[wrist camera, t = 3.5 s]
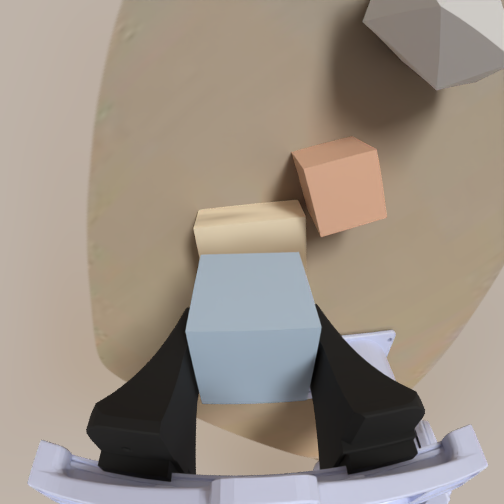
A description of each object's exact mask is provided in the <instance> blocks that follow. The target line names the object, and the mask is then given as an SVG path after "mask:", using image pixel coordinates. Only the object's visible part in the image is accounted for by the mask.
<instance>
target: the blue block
mask: <svg viewBox="0 0 504 504" xmlns="http://www.w3.org/2000/svg"><path fill="white" fill-rule="evenodd" d="M321 328H322V327H321V324H320V320H319V317H318V313H317V310H316V306H315V303H314V300H313V296H312V293H311V290H310V286H309V283H308V280H307V276H306V273H305V270H304V267H303V263H302V260H301V257H300V254H299V252H282V253H244V254H206V255H201V256H200V261H199V266H198V270H197V275H196V280H195V285H194V290H193V295H192V300H191V305H190V310H189V315H188V320H187V326H186V331H185V332H186V336H187V341H188V346H189V350H190V355H191V359H192V364H193V368H194V372H195V376H196V381H197V385H198V389H199V393H200V397H201V401H202V404H254V403H276V402H292V401H304V400H307V397H308V393H309V388H310V384H311V379H312V374H313V369H314V365H315V360H316V354H317V349H318V344H319V339H320V333H321Z"/></svg>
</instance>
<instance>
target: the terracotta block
mask: <svg viewBox="0 0 504 504" xmlns="http://www.w3.org/2000/svg"><path fill="white" fill-rule="evenodd" d="M291 153H292V156H293V159H294V163H295V166H296V170H297V173H298V177H299V180H300V184H301V188H302V191H303V195H304V199H305V202H306V206H307V210H308V212H309V214H310V216H311V218H312V220H313V222H314V224H315V226H316V228H317V230H318V232H319V234H320V236H321V237H323V236H327V235H330V234H333V233H337V232H340V231H344V230H347V229H350V228H354V227H357V226H360V225H364V224H367V223H370V222H374V221H377V220H380V219H383V218H387V213H386V205H385V198H384V190H383V184H382V177H381V171H380V165H379V159H378V153H377V149H375V148H373V147H371V146H370V145H368V144H366V143H364V142H362V141H360V140H358V139H357V138H355V137H353V136H350V137H346V138H342V139H338V140H334V141H331V142H327V143H323V144H319V145H315V146H312V147H308V148H305V149H301V150H297V151H294V152H291Z"/></svg>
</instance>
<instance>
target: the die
mask: <svg viewBox="0 0 504 504" xmlns="http://www.w3.org/2000/svg"><path fill="white" fill-rule="evenodd" d="M363 23H364V24H365V25H366V26H367V27H369V28H370V29H371V30H372V31H373V32H374V33H375V34H376V35H377V36H378V37H379V38H380V39H381V40H382V41H383V42H384V43H385V44H386V45H387V46H388V47H389V48H390V49H391V50H392V51H393V52H394V53H395V54H396V55H397V56H398V57H399V59H400V60H401V61H402V62H404V63H405V64H406V65H407V66H409V67H410V68H411V69H412V70H414V71H415V72H416V73H417V74H418V75H420V76H421V77H422V78H423V79H424V80H425V81H426V82H428V83H429V84H430V85H431V86H432V87H433V88H434V89H435V90H440V89H444V88H449V87H453V86H458V85H463V84H468V83H473V82H477V81H479V80H481V79H483V78H485V77H487V76H489V75H491V74H493V73H495V72H497V71H499V70H502V69H504V9H503V6H502V3H501V0H370V3H369V5H368V8H367V11H366V13H365V16H364V19H363Z"/></svg>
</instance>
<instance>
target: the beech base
mask: <svg viewBox="0 0 504 504" xmlns="http://www.w3.org/2000/svg"><path fill="white" fill-rule="evenodd" d="M193 229H194V234H195V239H196V244H197V249H198V253H199V258H200V256H201V255H206V254H244V253H282V252H299V254H300V257H301V260H302V263H303V267H304V270H305V273H306V216H305V214H304V212H303V210H302V208H301V205H300V203H299V201H298V200H287V201H276V202H266V203H256V204H246V205H237V206H228V207H219V208H211V209H202V210H199V211H198V214H197V218H196V221H195V225H194V228H193Z"/></svg>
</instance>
